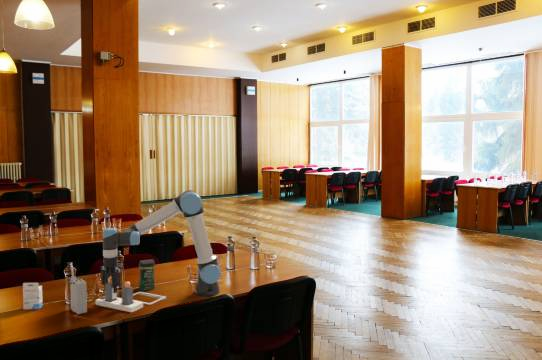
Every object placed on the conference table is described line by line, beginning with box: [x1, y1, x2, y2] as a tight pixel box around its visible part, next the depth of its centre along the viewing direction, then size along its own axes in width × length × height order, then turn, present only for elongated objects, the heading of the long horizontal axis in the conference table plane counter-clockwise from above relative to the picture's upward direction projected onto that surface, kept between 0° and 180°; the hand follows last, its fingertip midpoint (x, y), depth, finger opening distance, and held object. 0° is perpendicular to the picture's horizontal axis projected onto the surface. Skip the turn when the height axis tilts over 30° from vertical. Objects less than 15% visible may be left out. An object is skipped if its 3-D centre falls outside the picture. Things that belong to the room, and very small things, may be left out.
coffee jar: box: [138, 258, 156, 292], centre depth 287 cm, size 10×8×19 cm
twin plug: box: [121, 281, 134, 306], centre depth 253 cm, size 4×4×14 cm
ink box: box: [22, 282, 43, 310], centre depth 253 cm, size 8×5×15 cm, turn 96°
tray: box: [133, 291, 167, 306], centre depth 268 cm, size 20×14×2 cm
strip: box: [94, 295, 144, 313], centre depth 256 cm, size 26×9×4 cm, turn 64°
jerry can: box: [69, 262, 88, 316], centre depth 249 cm, size 15×5×25 cm, turn 38°
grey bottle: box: [104, 276, 116, 302], centre depth 258 cm, size 4×4×14 cm
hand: (111, 297), depth 258 cm, fingers closed on grey bottle, 4 cm apart
